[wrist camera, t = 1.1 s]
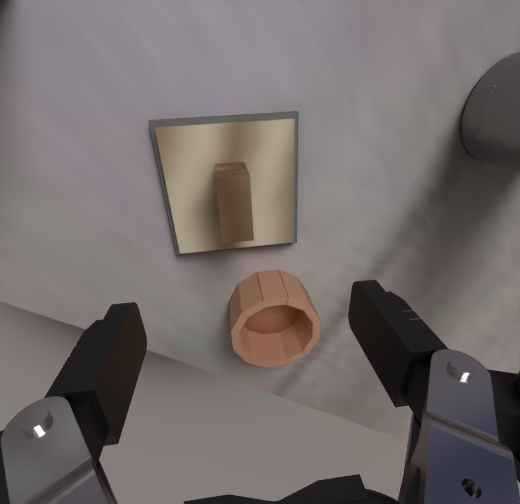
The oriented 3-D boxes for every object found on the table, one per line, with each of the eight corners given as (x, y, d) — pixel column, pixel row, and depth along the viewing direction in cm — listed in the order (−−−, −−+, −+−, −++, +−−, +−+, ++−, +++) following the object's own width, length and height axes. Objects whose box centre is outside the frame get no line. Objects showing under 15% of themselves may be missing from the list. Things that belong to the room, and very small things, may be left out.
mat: (296, 111, 25) (298, 111, 24) (294, 239, 30) (296, 242, 29) (150, 120, 24) (148, 120, 23) (177, 251, 29) (176, 254, 28)
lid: (292, 118, 24) (312, 123, 19) (291, 238, 29) (307, 268, 24) (156, 127, 23) (139, 134, 18) (180, 249, 28) (172, 282, 23)
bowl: (308, 266, 32) (322, 293, 28) (306, 329, 36) (318, 360, 32) (226, 275, 31) (227, 304, 27) (233, 338, 35) (236, 372, 31)
